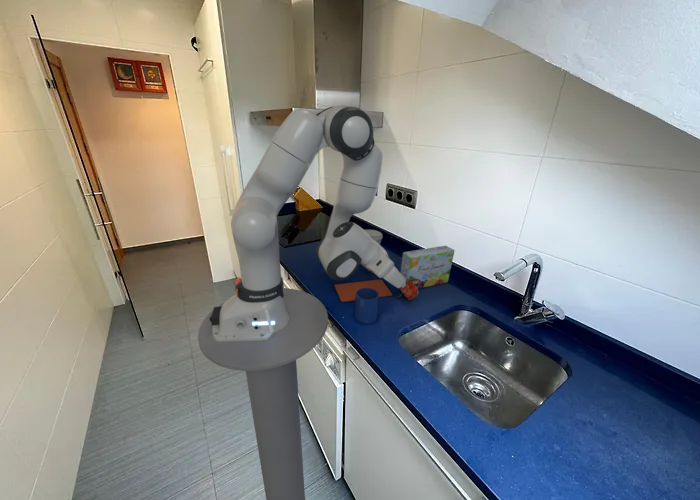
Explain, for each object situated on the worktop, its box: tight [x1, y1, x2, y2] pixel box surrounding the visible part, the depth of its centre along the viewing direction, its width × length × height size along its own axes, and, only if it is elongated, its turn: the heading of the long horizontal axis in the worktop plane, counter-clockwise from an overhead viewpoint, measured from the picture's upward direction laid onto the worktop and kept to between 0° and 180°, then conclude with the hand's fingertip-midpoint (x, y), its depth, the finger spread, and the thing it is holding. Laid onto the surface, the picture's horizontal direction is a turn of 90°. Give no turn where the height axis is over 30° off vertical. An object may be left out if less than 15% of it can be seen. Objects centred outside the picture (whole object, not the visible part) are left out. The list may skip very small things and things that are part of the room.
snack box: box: [399, 245, 456, 290], centre depth 113 cm, size 21×6×15 cm, turn 114°
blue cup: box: [354, 288, 380, 324], centre depth 94 cm, size 7×7×9 cm
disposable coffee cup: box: [364, 229, 383, 246], centre depth 132 cm, size 11×11×15 cm
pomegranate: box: [396, 281, 420, 301], centre depth 105 cm, size 7×7×10 cm
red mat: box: [333, 278, 393, 303], centre depth 111 cm, size 20×12×1 cm, turn 105°
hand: (397, 278), depth 101 cm, fingers open, 8 cm apart
